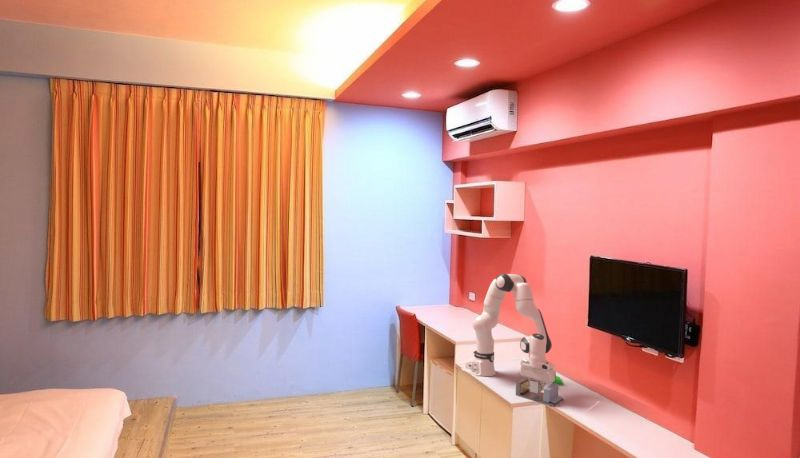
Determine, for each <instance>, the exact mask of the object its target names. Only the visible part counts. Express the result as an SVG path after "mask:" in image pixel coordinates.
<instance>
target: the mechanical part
mask: <svg viewBox="0 0 800 458" xmlns="http://www.w3.org/2000/svg"><path fill="white" fill-rule="evenodd" d="M554 371H555V381H554V382H553V383H555V384H559V386H563V381H562V378H561V377H560V376H557V372H556V370H554ZM553 383H551V384H553Z"/></svg>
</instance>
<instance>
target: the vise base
mask: <svg viewBox="0 0 800 458" xmlns="http://www.w3.org/2000/svg"><path fill="white" fill-rule="evenodd" d="M543 394H544V391H541V392H539V393H535V392H531V391H530V382H529V380H528V377H525V376H523V377H522V378H521V379H519V380H517V381H516V382H515V396H517V397H520V398H523V399H526V400H530V401H533V402H537V403H538V404H544V405H547V406H550V407H553V408H555V407H556V406H557V405H559V404H560V403H561V402H563V401H564V397H562V399H561V400H559V401H558V402H557V403H552V402H549V403H548V402H545V401H544V399H543Z"/></svg>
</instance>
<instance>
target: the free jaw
mask: <svg viewBox="0 0 800 458" xmlns="http://www.w3.org/2000/svg"><path fill="white" fill-rule="evenodd" d="M559 387H560V385H559V384H555V383H553V384H552V383H550V384H549V385H548V386H546V387H544V390H543V393H544V394H543V399H544V401H545V402H548V403H549V402H552V403H557V402H558V401H559V400H561V399H562V398H563V396H561V395H559V391H560V390H559V389H560V388H559Z"/></svg>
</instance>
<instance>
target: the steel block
mask: <svg viewBox="0 0 800 458" xmlns="http://www.w3.org/2000/svg"><path fill="white" fill-rule="evenodd" d="M541 384H543V383H542V381H541V380H537V379H533V378H532V379H531V380H530V391H531V392H535V393H539V392H543V391H544V389H545V387H544V388H540V385H541Z"/></svg>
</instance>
